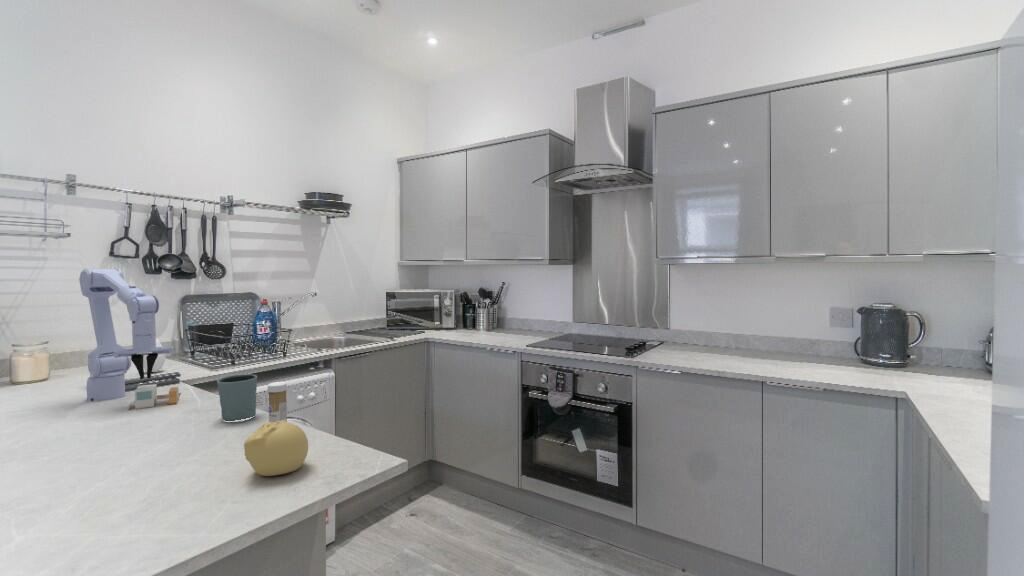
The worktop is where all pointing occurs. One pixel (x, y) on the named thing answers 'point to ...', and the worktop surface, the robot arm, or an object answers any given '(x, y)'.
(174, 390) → the rail
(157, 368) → the sauce bottle
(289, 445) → the sculpture
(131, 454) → the worktop surface
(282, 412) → the sprinkles bottle
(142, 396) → the block
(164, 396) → the board
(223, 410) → the teal cup
